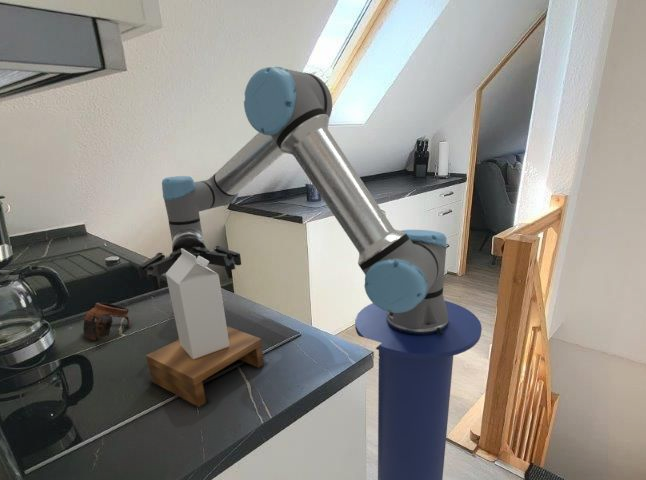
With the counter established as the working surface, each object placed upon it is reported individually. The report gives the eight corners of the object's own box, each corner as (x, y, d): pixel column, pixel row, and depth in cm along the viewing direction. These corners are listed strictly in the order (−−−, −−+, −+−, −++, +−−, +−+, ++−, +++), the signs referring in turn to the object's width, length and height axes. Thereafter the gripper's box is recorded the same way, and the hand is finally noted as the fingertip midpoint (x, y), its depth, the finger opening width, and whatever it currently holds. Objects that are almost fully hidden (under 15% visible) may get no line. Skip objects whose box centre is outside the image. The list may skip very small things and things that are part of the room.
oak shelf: (264, 364, 83) (261, 338, 81) (198, 407, 71) (192, 378, 68) (218, 345, 90) (214, 321, 88) (152, 382, 78) (145, 355, 76)
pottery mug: (81, 331, 99) (91, 299, 99) (124, 339, 103) (133, 308, 104) (76, 340, 88) (87, 304, 89) (124, 349, 93) (134, 314, 93)
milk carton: (193, 360, 74) (174, 261, 66) (180, 345, 79) (160, 252, 71) (230, 347, 78) (215, 252, 71) (215, 333, 83) (200, 244, 76)
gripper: (243, 256, 103) (260, 284, 85) (135, 271, 94) (126, 306, 76) (240, 227, 100) (256, 250, 82) (127, 240, 91) (117, 268, 73)
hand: (193, 277), depth 79 cm, fingers open, 13 cm apart
